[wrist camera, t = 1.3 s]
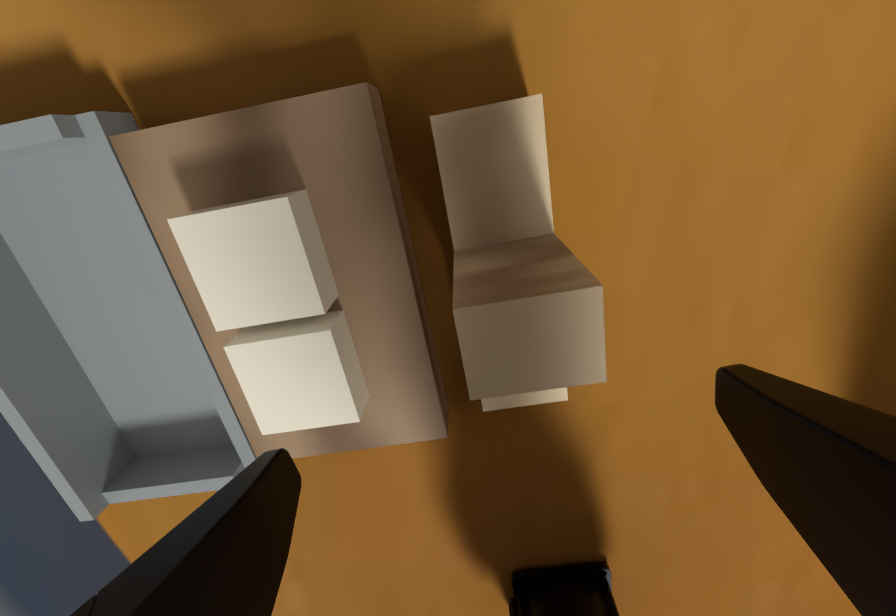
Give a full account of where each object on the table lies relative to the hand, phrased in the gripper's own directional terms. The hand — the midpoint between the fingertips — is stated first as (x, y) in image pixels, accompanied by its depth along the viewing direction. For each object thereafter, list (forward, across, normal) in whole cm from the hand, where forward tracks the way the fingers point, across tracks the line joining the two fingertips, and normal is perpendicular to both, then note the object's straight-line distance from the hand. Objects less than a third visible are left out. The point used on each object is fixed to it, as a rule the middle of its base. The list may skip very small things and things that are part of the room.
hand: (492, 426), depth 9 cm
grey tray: (+12, +18, 0) cm, 21 cm away
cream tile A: (+10, +8, -3) cm, 13 cm away
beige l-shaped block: (+12, -1, +1) cm, 12 cm away
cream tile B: (+10, +8, +3) cm, 13 cm away
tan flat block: (+12, +8, 0) cm, 14 cm away
